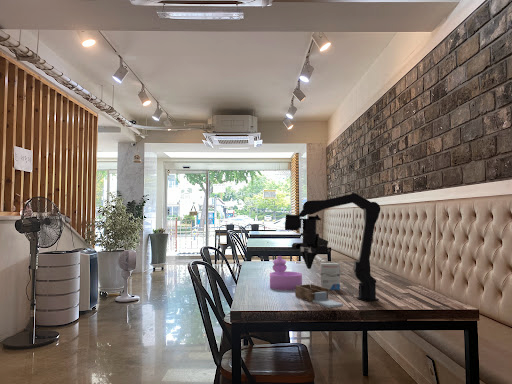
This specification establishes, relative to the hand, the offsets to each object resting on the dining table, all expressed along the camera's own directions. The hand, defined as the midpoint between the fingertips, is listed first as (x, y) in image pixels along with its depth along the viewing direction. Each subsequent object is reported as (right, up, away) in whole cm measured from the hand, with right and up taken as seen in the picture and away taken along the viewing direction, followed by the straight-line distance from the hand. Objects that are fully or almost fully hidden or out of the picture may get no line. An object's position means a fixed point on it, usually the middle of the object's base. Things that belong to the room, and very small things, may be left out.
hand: (309, 268), depth 157 cm
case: (+1, -12, -1) cm, 12 cm away
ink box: (+12, -13, +18) cm, 26 cm away
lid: (+5, -12, -12) cm, 17 cm away
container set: (-9, -14, +28) cm, 32 cm away
